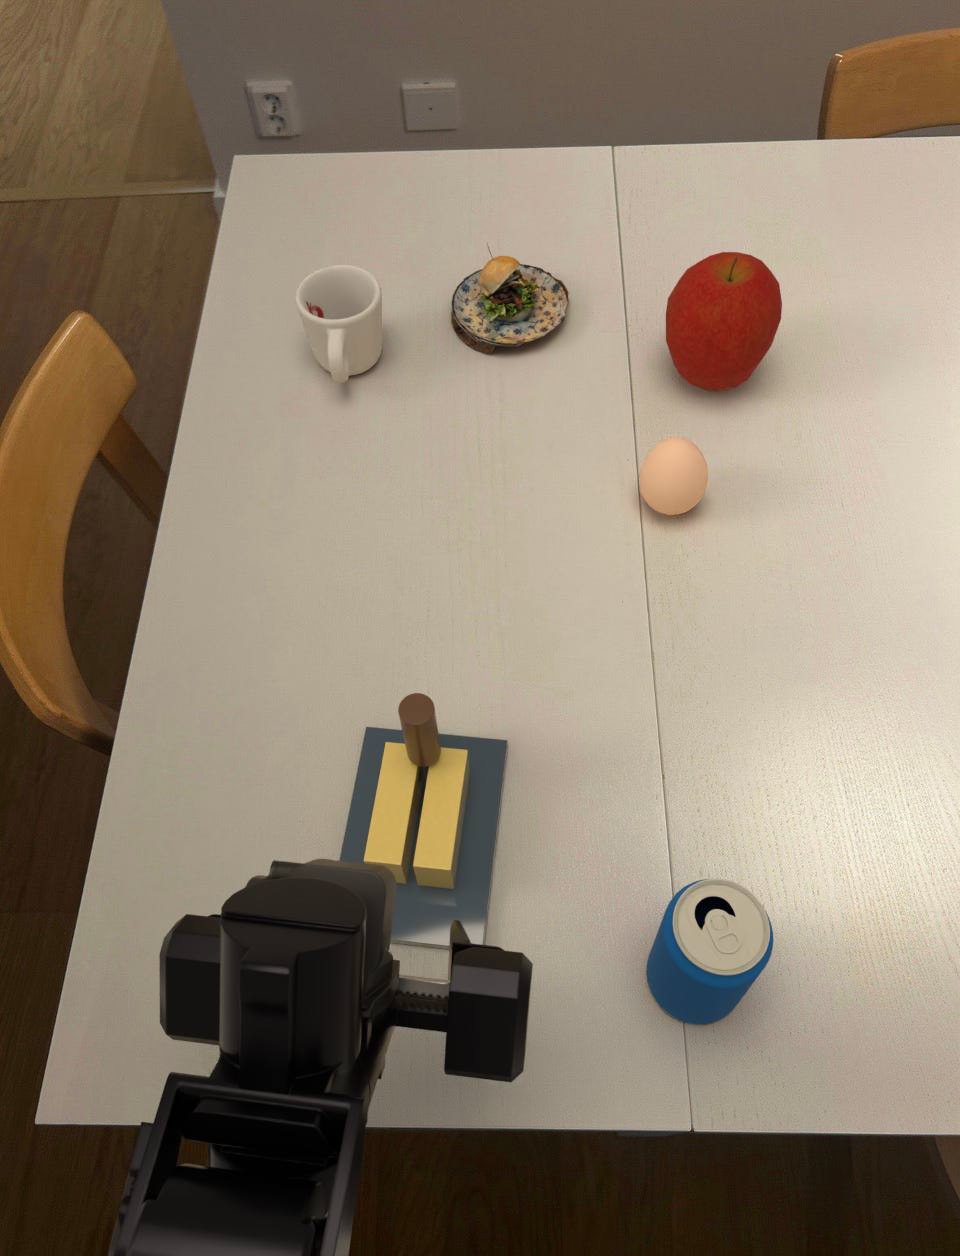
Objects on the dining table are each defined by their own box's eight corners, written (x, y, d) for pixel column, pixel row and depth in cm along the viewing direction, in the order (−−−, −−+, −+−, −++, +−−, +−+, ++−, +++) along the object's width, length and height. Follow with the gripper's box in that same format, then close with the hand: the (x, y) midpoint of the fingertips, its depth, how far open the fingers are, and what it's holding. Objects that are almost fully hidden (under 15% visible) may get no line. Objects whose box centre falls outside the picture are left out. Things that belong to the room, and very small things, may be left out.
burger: (488, 374, 103) (486, 313, 96) (429, 303, 108) (424, 242, 102) (592, 327, 106) (597, 265, 99) (529, 261, 111) (530, 198, 105)
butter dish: (482, 953, 73) (480, 933, 69) (326, 935, 74) (315, 914, 70) (507, 744, 82) (506, 715, 78) (367, 731, 83) (359, 701, 79)
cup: (386, 407, 101) (376, 343, 94) (302, 408, 101) (286, 345, 94) (392, 328, 106) (383, 262, 100) (313, 329, 107) (299, 264, 100)
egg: (646, 472, 95) (654, 412, 89) (708, 488, 94) (722, 429, 88) (627, 520, 93) (635, 462, 86) (692, 537, 91) (704, 480, 85)
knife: (442, 792, 78) (431, 726, 69) (410, 789, 79) (395, 723, 69) (450, 735, 81) (441, 664, 72) (419, 732, 81) (406, 661, 72)
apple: (740, 329, 105) (767, 207, 93) (783, 400, 100) (817, 280, 88) (641, 352, 104) (656, 231, 92) (679, 425, 98) (700, 307, 87)
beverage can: (714, 915, 74) (744, 856, 64) (759, 1005, 71) (798, 957, 61) (629, 949, 73) (646, 894, 63) (671, 1042, 70) (696, 999, 60)
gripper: (530, 947, 44) (548, 806, 59) (102, 898, 46) (225, 773, 61) (511, 1176, 47) (533, 984, 62) (106, 1121, 49) (223, 947, 64)
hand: (378, 918), depth 62 cm, fingers open, 9 cm apart
